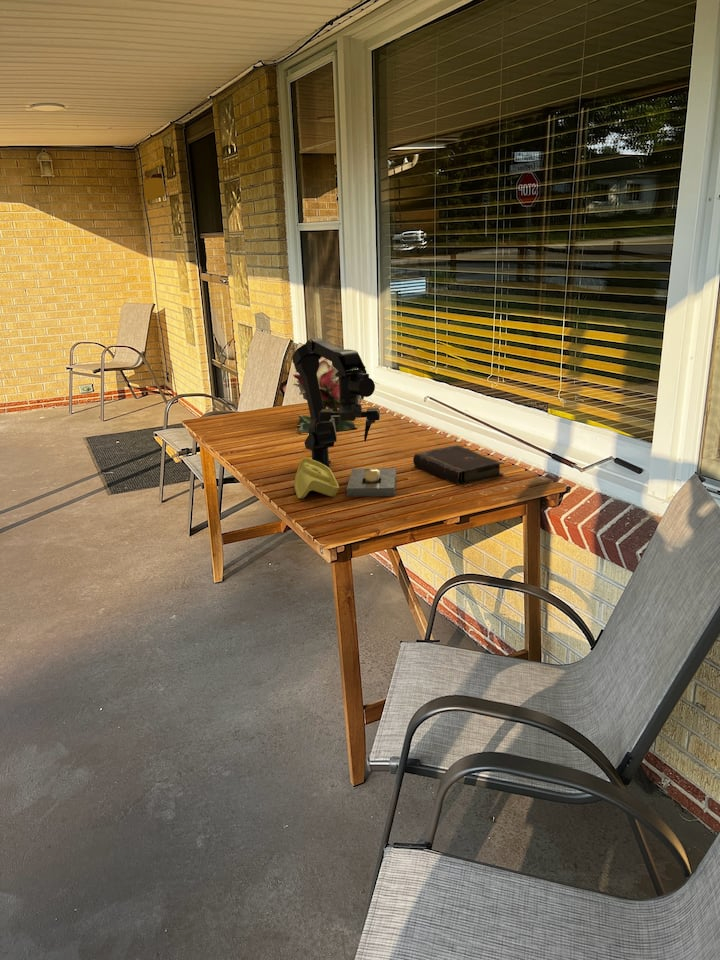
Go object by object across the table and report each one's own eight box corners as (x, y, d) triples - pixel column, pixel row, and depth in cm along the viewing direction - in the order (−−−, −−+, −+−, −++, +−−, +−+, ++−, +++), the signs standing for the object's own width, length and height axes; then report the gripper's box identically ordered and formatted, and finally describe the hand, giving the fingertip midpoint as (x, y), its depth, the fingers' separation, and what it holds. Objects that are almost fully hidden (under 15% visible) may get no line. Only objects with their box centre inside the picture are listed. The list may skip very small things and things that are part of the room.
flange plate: (352, 476, 233) (352, 468, 232) (396, 475, 232) (396, 467, 231) (346, 496, 214) (346, 487, 213) (394, 496, 213) (394, 487, 212)
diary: (457, 487, 220) (457, 471, 219) (413, 467, 241) (412, 453, 240) (505, 476, 228) (506, 461, 227) (459, 458, 249) (459, 444, 248)
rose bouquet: (370, 428, 295) (367, 354, 286) (300, 436, 286) (296, 360, 277) (349, 415, 318) (346, 346, 309) (284, 423, 309) (279, 352, 300)
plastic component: (340, 489, 213) (308, 478, 210) (330, 511, 215) (298, 501, 212) (329, 465, 232) (299, 455, 229) (319, 486, 234) (290, 476, 231)
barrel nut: (365, 486, 222) (365, 467, 220) (378, 486, 222) (378, 467, 220) (365, 490, 219) (364, 471, 217) (378, 490, 218) (378, 471, 216)
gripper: (314, 398, 216) (317, 448, 221) (377, 396, 214) (379, 447, 219) (319, 391, 227) (322, 439, 231) (379, 389, 225) (380, 438, 230)
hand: (350, 441), depth 228 cm, fingers open, 9 cm apart
